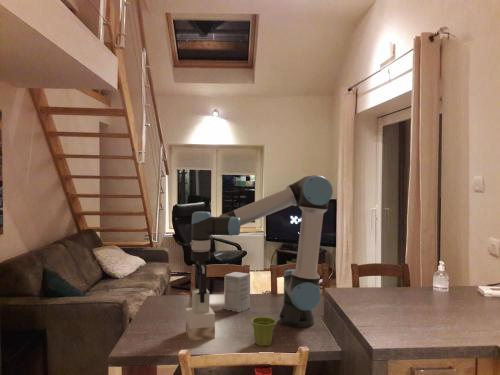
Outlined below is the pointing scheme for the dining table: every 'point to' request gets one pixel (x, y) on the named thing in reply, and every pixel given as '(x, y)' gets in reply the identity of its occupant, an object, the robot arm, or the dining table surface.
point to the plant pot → (263, 330)
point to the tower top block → (200, 319)
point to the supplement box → (237, 291)
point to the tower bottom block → (200, 333)
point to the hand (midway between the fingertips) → (200, 307)
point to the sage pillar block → (195, 301)
